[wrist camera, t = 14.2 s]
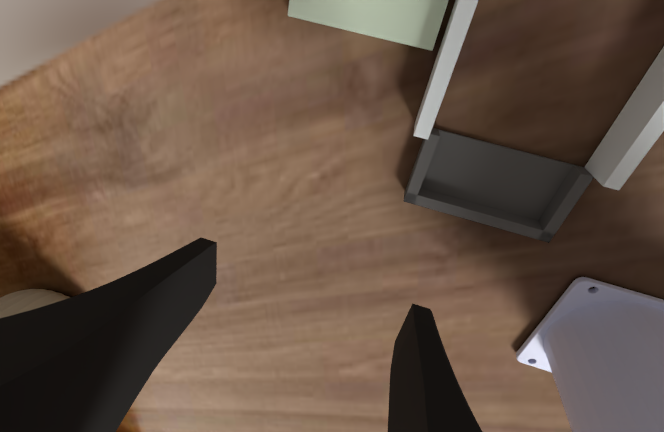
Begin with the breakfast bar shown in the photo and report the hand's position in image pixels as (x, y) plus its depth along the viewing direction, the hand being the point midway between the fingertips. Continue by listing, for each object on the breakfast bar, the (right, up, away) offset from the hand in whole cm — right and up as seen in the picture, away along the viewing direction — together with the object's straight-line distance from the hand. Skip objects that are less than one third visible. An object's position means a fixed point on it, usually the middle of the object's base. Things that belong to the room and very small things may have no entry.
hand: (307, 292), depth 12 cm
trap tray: (+9, +5, +6) cm, 12 cm away
